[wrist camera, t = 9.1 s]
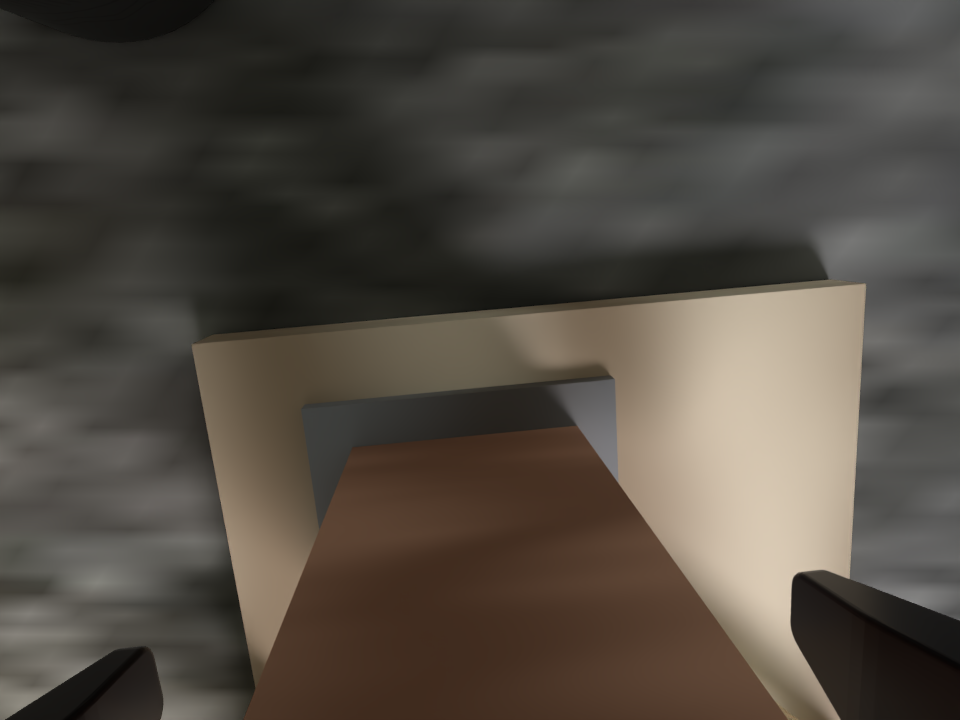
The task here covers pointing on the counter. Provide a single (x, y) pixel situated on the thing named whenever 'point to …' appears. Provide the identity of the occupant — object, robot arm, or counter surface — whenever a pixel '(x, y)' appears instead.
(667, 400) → the beige board
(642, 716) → the block
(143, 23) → the drinking cup
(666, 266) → the counter surface
